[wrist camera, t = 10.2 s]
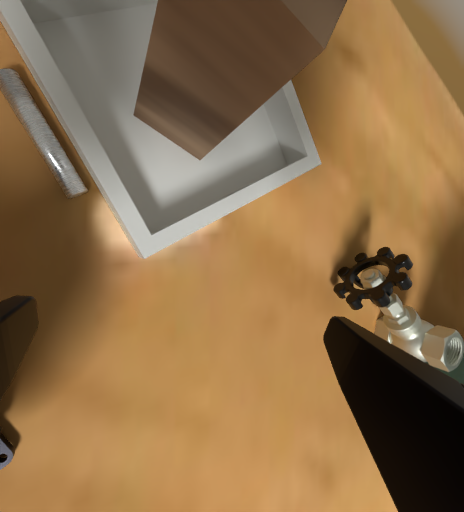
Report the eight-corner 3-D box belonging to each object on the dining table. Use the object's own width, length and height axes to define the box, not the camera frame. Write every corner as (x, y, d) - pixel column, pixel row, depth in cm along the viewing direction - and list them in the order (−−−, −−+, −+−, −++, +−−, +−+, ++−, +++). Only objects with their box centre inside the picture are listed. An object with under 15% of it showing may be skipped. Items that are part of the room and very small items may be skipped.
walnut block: (200, 160, 19) (327, 47, 8) (133, 115, 17) (182, -117, 6) (228, 104, 20) (380, -70, 9) (168, 54, 18) (267, -247, 7)
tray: (138, 256, 18) (144, 258, 15) (-3, 16, 14) (-28, -39, 12) (295, 173, 23) (321, 163, 21) (221, -17, 20) (240, -60, 17)
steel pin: (84, 189, 16) (65, 198, 16) (90, 191, 17) (72, 199, 17) (9, 65, 14) (-13, 74, 14) (22, 76, 15) (1, 84, 15)
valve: (405, 317, 31) (355, 246, 27) (476, 335, 25) (425, 246, 21) (378, 364, 29) (319, 295, 25) (447, 395, 23) (385, 311, 19)
